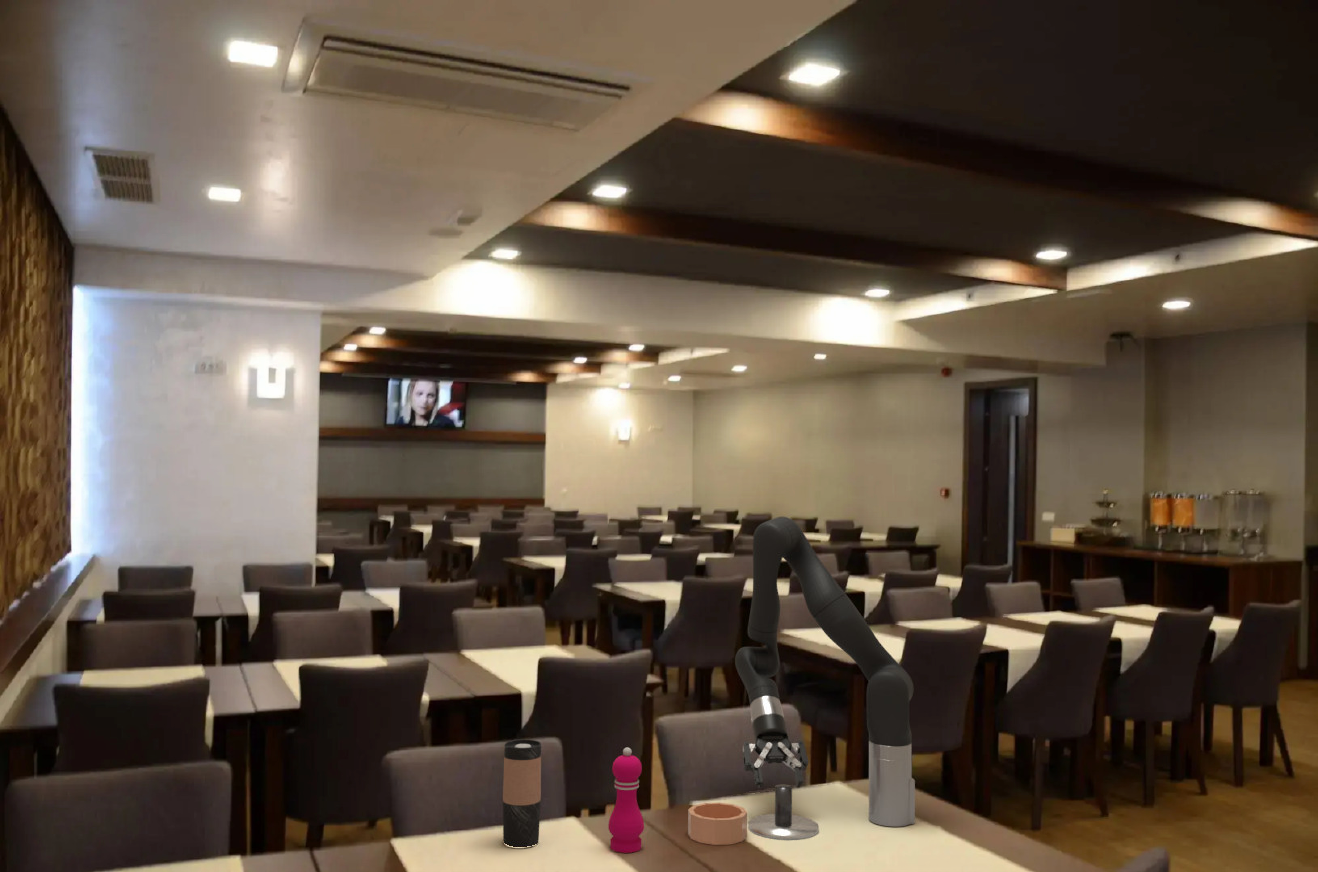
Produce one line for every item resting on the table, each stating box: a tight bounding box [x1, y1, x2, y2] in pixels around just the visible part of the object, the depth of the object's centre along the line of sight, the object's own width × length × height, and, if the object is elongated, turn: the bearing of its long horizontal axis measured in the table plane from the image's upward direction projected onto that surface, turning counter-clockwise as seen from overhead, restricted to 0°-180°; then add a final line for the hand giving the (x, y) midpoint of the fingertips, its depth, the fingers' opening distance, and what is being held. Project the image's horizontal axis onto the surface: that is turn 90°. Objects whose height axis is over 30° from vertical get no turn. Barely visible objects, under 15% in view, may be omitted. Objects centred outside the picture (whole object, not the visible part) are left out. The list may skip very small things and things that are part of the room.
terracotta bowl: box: [687, 802, 748, 846], centre depth 222 cm, size 12×12×5 cm
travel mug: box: [502, 739, 542, 847], centre depth 216 cm, size 8×8×20 cm
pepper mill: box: [607, 747, 645, 854], centre depth 214 cm, size 7×7×20 cm
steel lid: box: [747, 783, 820, 841], centre depth 227 cm, size 15×15×9 cm
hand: (780, 785), depth 230 cm, fingers open, 8 cm apart
